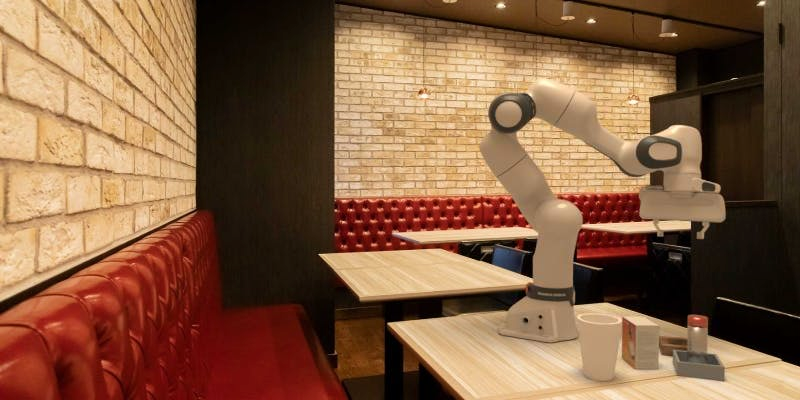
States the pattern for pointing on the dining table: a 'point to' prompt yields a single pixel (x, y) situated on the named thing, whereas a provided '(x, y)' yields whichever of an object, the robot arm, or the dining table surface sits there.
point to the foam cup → (599, 344)
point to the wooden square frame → (672, 344)
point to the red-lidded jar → (697, 339)
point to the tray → (698, 366)
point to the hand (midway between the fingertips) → (680, 237)
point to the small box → (640, 342)
